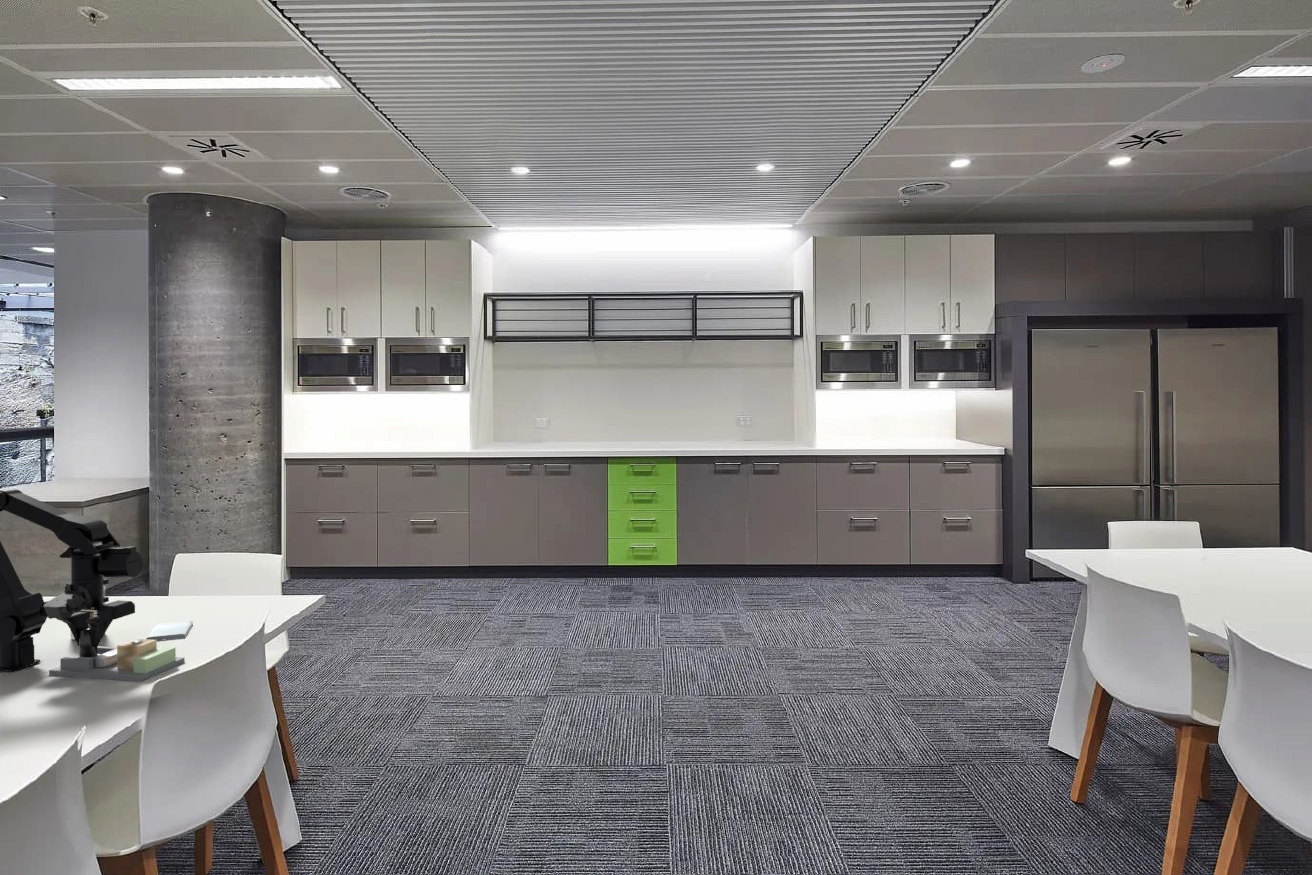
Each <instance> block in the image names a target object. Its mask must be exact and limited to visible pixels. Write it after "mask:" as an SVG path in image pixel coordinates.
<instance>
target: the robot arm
mask: <svg viewBox="0 0 1312 875" xmlns="http://www.w3.org/2000/svg"><path fill="white" fill-rule="evenodd" d="M4 511H6V512H8V513H9V514H13V515H14V516H17V517H18V518H22V519H24V520H26V521H28V522H30V523H33V524H35V525H37V526H39V527H42V528H44V529H46V530H49V531H50V532H52V533H53V534H54V535H55V536H56V538H57V539H58V541H60V542H62V543H63V544H65V545H66V546H68V548H66V550H65V551H64V552H63V553H61V554H60V555H59V558H61V559H70V582H68V583H65V586H64V592H63V593H60V594H59V595H57V596H55V597H53V598H52V599H51V600H46V601H44V597H43V595H42V594H41V593H40V592H36V593H31V592H29V591H28V590H26V589H25V587H24V586H23V584H22V581H21V580H20V577H19V576H18V574H17V571H16V570H15V567H14V565H13V563H12V562H11V560H10V557H9V556H8V553H7V552H6V550H5V547H4V545H3V543H2V542H1V541H0V672H15V671H18V670H21V669H23V668H26V667H27V668H28V667H30V666H32V665H33V666H34V665H35V664H38V663H41V659H37V658H35V644H34V637H33V635H37V634H40V633H41V630H42V627H43V625H44V624H45V623H46V621H47V619H49V620H52V619H56V620H58V621H60V622H63V623H65V624H67V627H68V628H69V629H70V633H71V632H72V634H73V636H74V638H75V640H74V641H76V644H77V646H78V647H79V629H81V628H84V627H88V625H89V624H90V626H91V641H92V646H93V647H97V646H100V643H101V641H102V640H103V638H104V636H105V634H106V632H107V630H108V628H109V627H110V625H111V624H112V622H113V621H114V620H117V619H120V618H123V617H126V616H127V617H128V616H130V615H133V614H135V613H136V604H135V602H133V601H132V600H120V599H119V600H115V601H111V602H110V600H109V599H110V597H109V596H105V597H104V585H108V584H109V578H136V577H137V576H139V575H140V573H141V572H142V570H143V566H144V559H143V558H142V555H141V553H140V552H138V551H137V546H135V545H134V546H132V545H131V546H123V547H122V546H121V544H120V543H119V542H118V540H117V539H116V538H115V537H114V535H113V534H112V533H111V531H110V530H109V528H108V524H107V523H106V522H105V521H103V520H101V519H97V518H94V517H89V516H87V515H79V514H78V515H76V514H74V513H73V514H72V513H68V512H66V511H64V510H62V509H59V508H57V507H54V506H53V505H50V504H48V503H47V502H46V503H45V502H44V501H41V500H39V499H37V498H34V497H33V496H30V495H28V494H25V493H24V492H22V491H21V490H19V489H16V488H8V489H0V513H2V512H4ZM104 577H105V578H104ZM103 603H105V604H103ZM93 608H94V609H93ZM91 613H94V615H93V618H90V614H91Z"/></svg>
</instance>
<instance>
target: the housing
mask: <svg viewBox="0 0 1312 875" xmlns="http://www.w3.org/2000/svg"><path fill="white" fill-rule="evenodd" d="M157 641H158V640H150V639H146V638H134V639H132V640H129V641H127V642H123V643H122V644H117V645H116V647H117V668H119V669H133V670H134V658H136V657H139V656H141V655H144V654H146V653H149V652H151V651H154V650H156V649H158V648H157V646H158V645H157Z"/></svg>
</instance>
